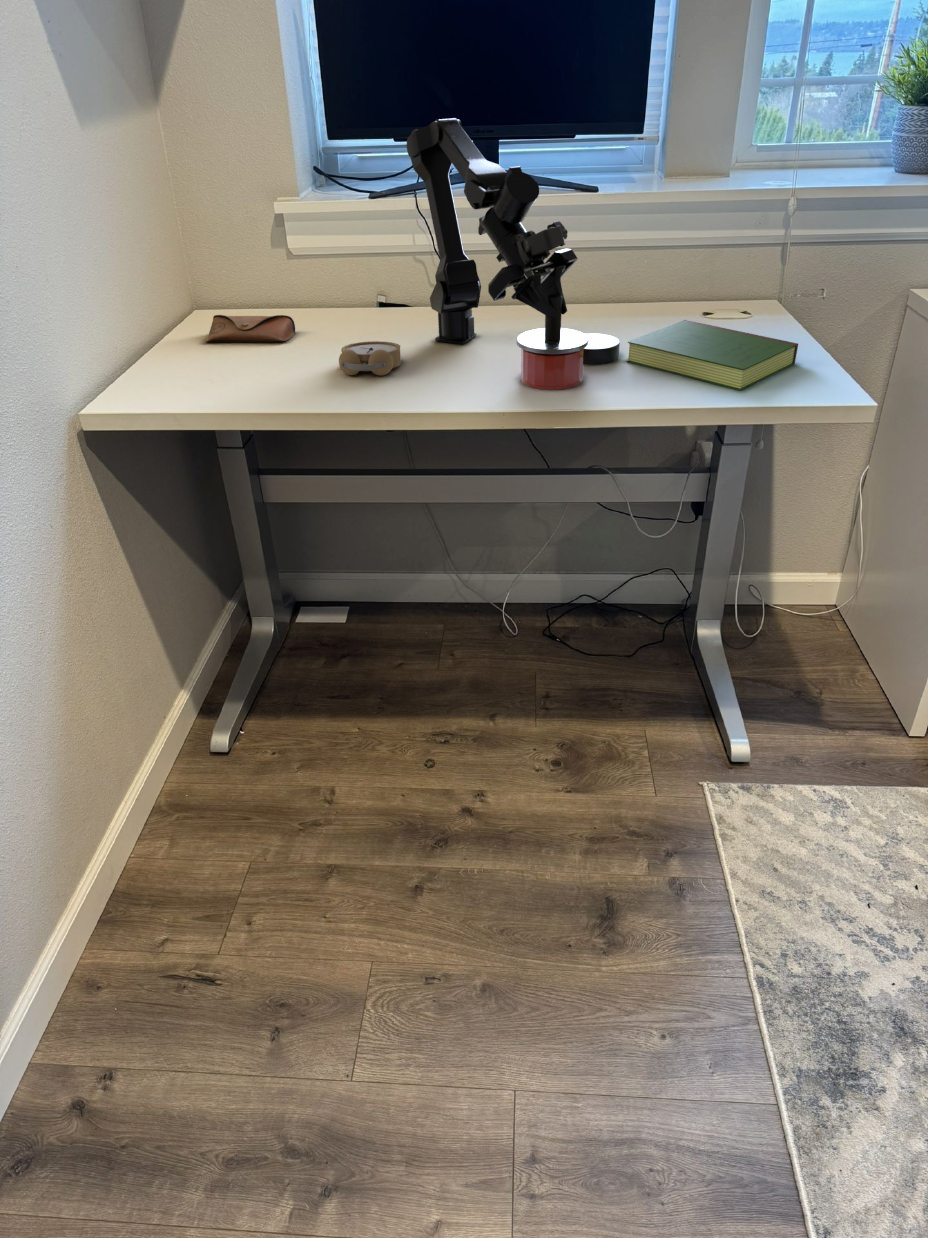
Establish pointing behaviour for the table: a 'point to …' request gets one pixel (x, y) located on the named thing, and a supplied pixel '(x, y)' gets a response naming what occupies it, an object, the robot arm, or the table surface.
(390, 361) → the alarm clock
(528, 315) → the table surface
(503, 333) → the table surface
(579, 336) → the lid
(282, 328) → the sunglasses case
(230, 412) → the table surface
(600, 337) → the stand
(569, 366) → the red faceted pot
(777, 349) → the hardcover book
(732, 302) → the table surface
